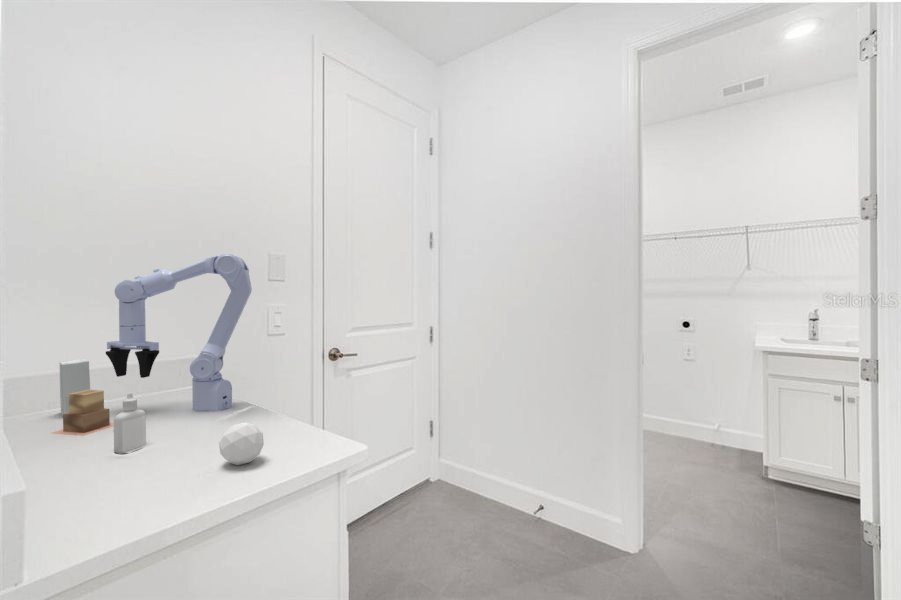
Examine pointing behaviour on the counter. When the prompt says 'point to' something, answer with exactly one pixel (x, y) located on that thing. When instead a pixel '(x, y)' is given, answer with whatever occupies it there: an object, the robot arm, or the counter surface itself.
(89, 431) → the grey square plate
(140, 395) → the counter surface
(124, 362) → the robot arm
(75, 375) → the skincare box
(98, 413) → the walnut base block
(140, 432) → the eye dropper bottle
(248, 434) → the ball
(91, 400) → the oak block
